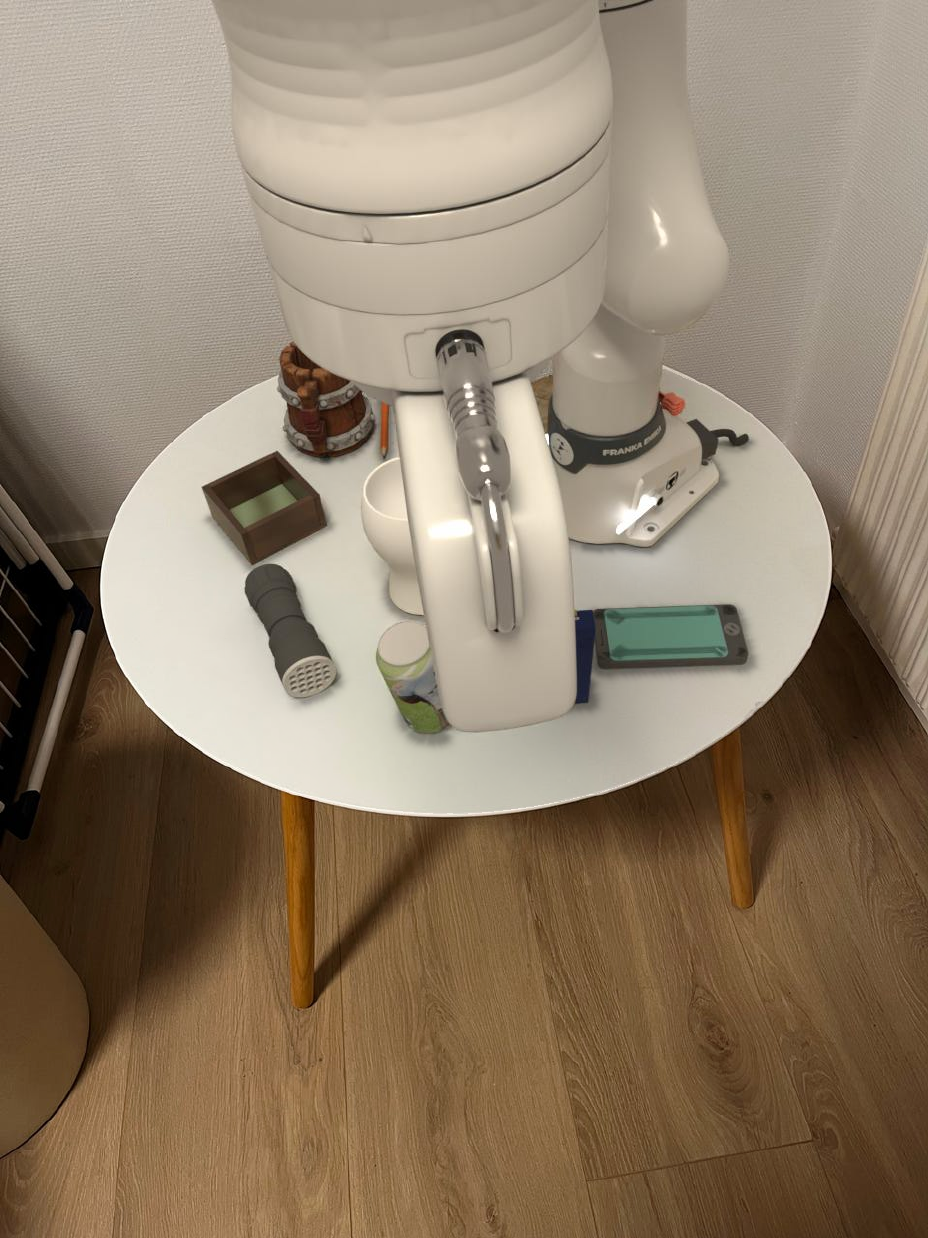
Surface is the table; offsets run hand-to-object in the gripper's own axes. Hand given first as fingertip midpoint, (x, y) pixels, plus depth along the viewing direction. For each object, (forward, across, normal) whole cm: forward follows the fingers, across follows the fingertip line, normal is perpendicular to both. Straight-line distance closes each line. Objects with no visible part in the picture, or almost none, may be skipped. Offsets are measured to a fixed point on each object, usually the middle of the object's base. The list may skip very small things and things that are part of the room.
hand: (475, 574), depth 34 cm
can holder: (+50, +55, +21) cm, 77 cm away
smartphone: (+51, +30, -20) cm, 63 cm away
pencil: (+51, +73, +6) cm, 89 cm away
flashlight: (+50, +36, +18) cm, 64 cm away
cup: (+50, +41, +4) cm, 65 cm away
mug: (+51, +69, +13) cm, 87 cm away
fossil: (+47, +65, -18) cm, 82 cm away
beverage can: (+50, +25, +5) cm, 56 cm away
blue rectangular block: (+50, +25, -7) cm, 57 cm away
